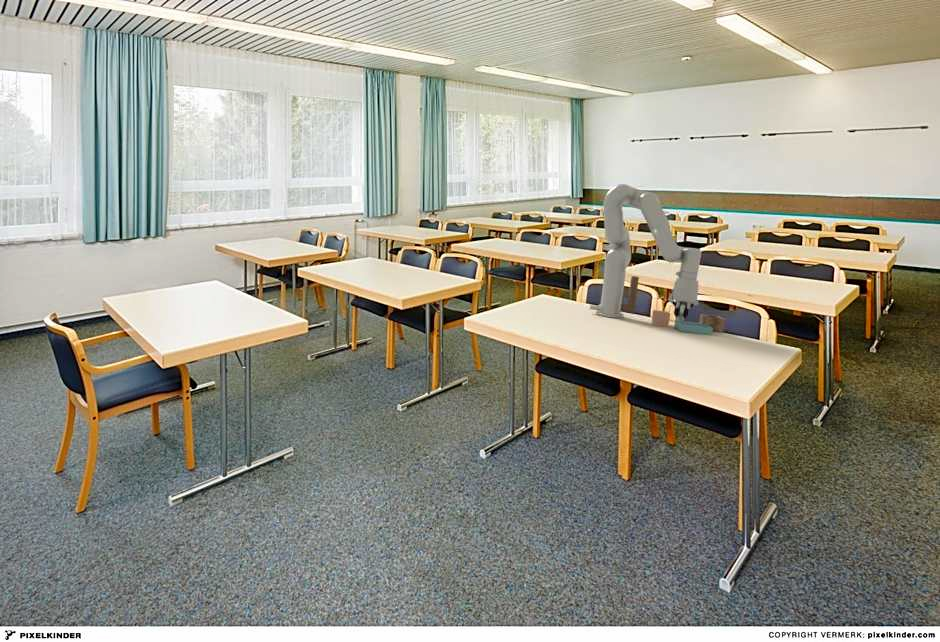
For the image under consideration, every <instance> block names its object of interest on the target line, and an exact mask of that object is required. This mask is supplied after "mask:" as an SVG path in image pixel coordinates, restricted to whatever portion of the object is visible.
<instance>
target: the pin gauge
mask: <svg viewBox="0 0 940 642" xmlns="http://www.w3.org/2000/svg"><path fill="white" fill-rule="evenodd" d="M686 303H687V302H680V303H679V313H678V317H676V318H675V321H682V322H684V319H685V318H684V314H685V308H686Z"/></svg>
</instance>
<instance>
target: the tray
mask: <svg viewBox="0 0 940 642" xmlns="http://www.w3.org/2000/svg"><path fill="white" fill-rule="evenodd" d="M674 327H675V328H674ZM673 328H674V329H675V330H677V331H678V332H679V333H686V334H687V333H688V334H699V335H707V334H712V335H713V332H712V331H713V328H712V327H710V326H709V325H707V324H702V323H699V322H691V321H683V322H682V321H676V320H675V321H674V326H673Z"/></svg>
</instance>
